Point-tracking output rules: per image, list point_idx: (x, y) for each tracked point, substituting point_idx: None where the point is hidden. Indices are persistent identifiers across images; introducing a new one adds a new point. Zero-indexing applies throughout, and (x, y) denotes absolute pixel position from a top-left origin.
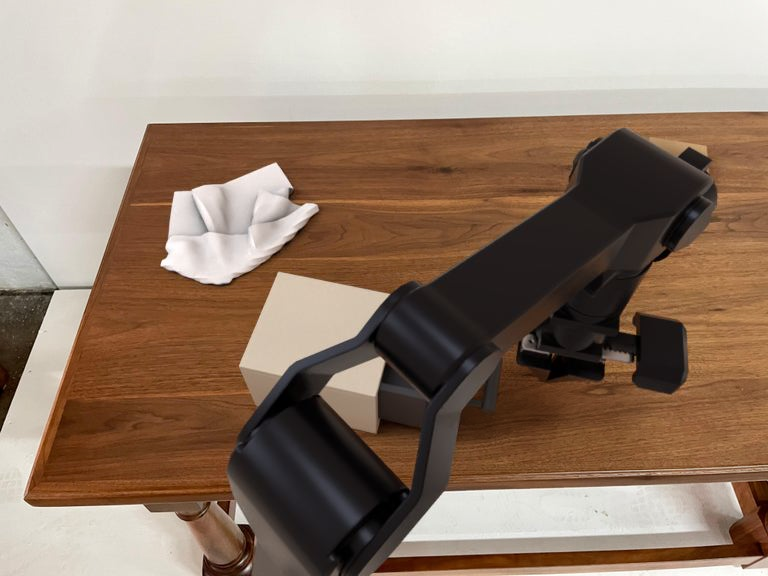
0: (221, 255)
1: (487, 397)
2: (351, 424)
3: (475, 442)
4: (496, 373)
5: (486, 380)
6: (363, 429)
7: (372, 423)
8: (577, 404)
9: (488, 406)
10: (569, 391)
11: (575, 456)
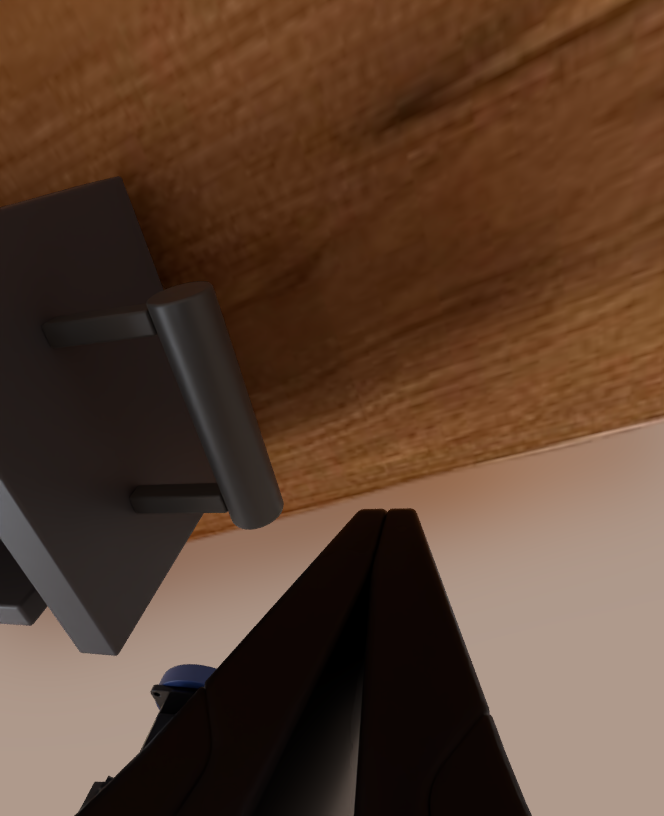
0: None
1: (225, 494)
2: None
3: (311, 427)
4: (208, 391)
5: (192, 420)
6: None
7: None
8: (641, 171)
9: (244, 525)
10: (600, 118)
11: (629, 382)
